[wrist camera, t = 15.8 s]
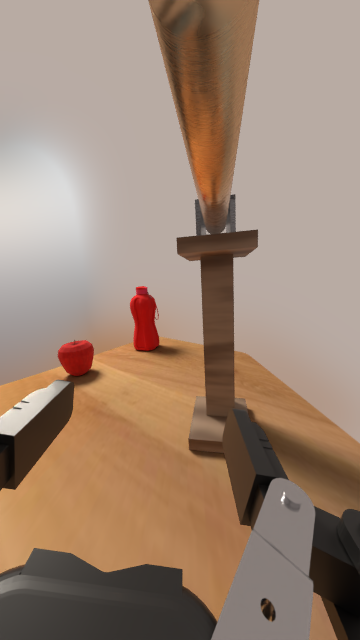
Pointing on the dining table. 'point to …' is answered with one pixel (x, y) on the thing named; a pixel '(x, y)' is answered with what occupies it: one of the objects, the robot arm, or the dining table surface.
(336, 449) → the dining table surface
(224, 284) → the wooden pedestal stand
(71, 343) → the apple
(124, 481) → the dining table surface
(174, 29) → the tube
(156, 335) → the water bottle
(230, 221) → the grey hollow box
